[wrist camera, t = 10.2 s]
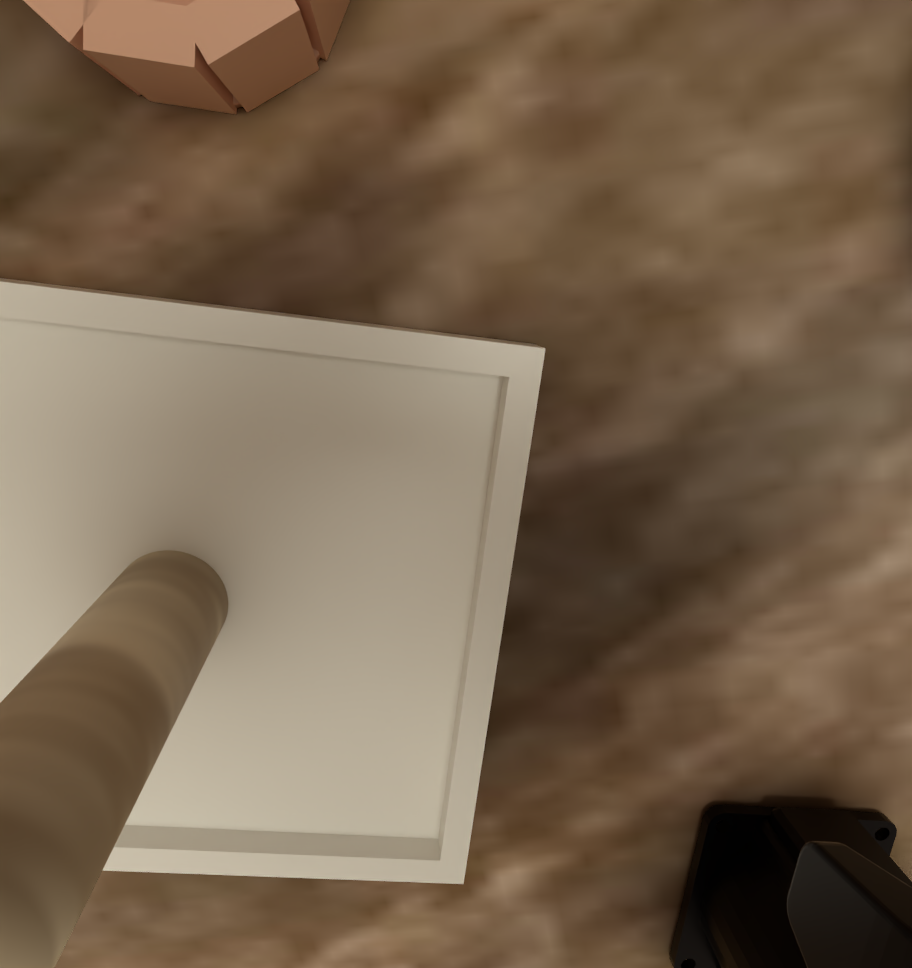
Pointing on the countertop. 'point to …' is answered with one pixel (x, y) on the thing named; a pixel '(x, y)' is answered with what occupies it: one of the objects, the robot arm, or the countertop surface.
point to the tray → (277, 561)
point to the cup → (201, 45)
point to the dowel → (93, 741)
